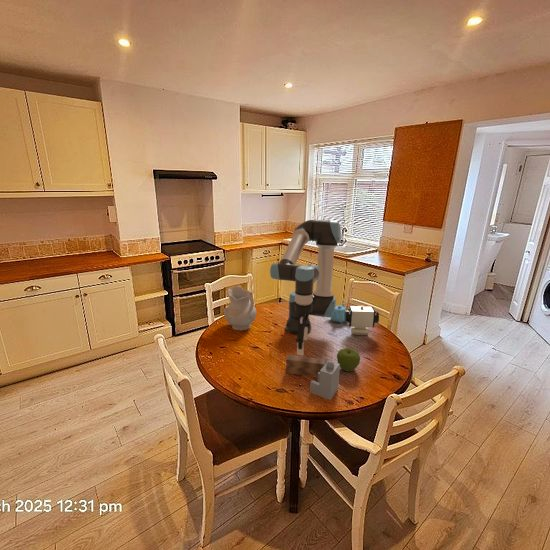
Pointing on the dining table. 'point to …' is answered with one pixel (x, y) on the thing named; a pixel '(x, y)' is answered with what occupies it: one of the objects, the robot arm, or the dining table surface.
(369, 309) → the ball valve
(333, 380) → the grey two-prong block
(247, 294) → the ceramic pitcher
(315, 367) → the rail
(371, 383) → the dining table surface
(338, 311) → the teapot
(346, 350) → the apple
